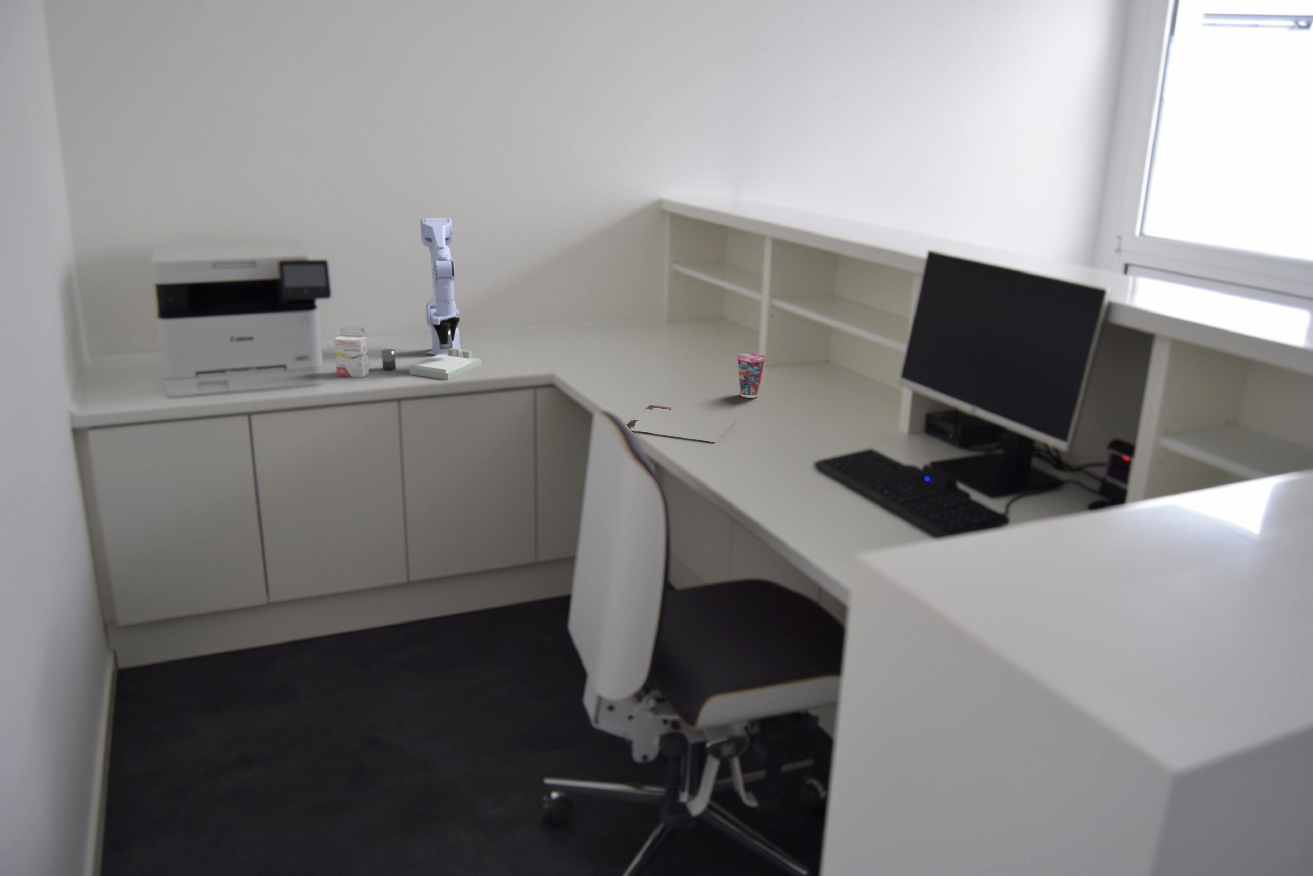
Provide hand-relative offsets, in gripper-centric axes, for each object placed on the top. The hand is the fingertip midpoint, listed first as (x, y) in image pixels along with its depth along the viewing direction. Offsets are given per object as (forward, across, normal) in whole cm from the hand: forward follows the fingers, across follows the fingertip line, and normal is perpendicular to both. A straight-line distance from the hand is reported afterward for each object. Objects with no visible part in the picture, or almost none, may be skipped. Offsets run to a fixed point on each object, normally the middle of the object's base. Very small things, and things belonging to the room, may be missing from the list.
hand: (447, 342), depth 312 cm
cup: (+9, 0, +96) cm, 97 cm away
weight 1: (+8, +7, -17) cm, 20 cm away
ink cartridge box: (+9, +16, -24) cm, 30 cm away
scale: (+8, +1, 0) cm, 8 cm away
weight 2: (+2, 0, 0) cm, 2 cm away
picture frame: (+9, +31, +82) cm, 89 cm away
